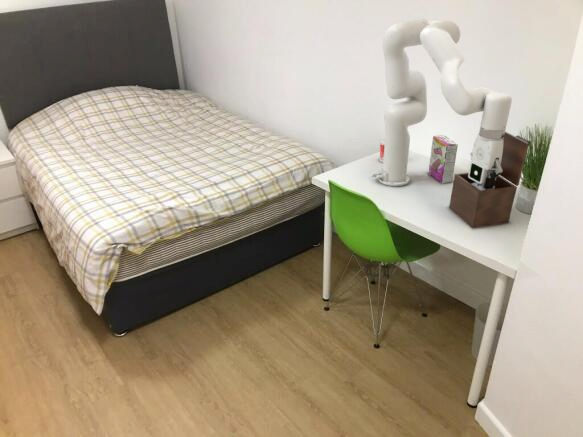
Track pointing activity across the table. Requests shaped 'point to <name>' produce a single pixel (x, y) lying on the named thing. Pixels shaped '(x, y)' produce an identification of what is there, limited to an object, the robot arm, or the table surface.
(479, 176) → the security camera
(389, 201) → the table surface
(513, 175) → the lid
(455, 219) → the table surface
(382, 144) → the beverage cup
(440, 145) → the candy bar box
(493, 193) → the storage box
